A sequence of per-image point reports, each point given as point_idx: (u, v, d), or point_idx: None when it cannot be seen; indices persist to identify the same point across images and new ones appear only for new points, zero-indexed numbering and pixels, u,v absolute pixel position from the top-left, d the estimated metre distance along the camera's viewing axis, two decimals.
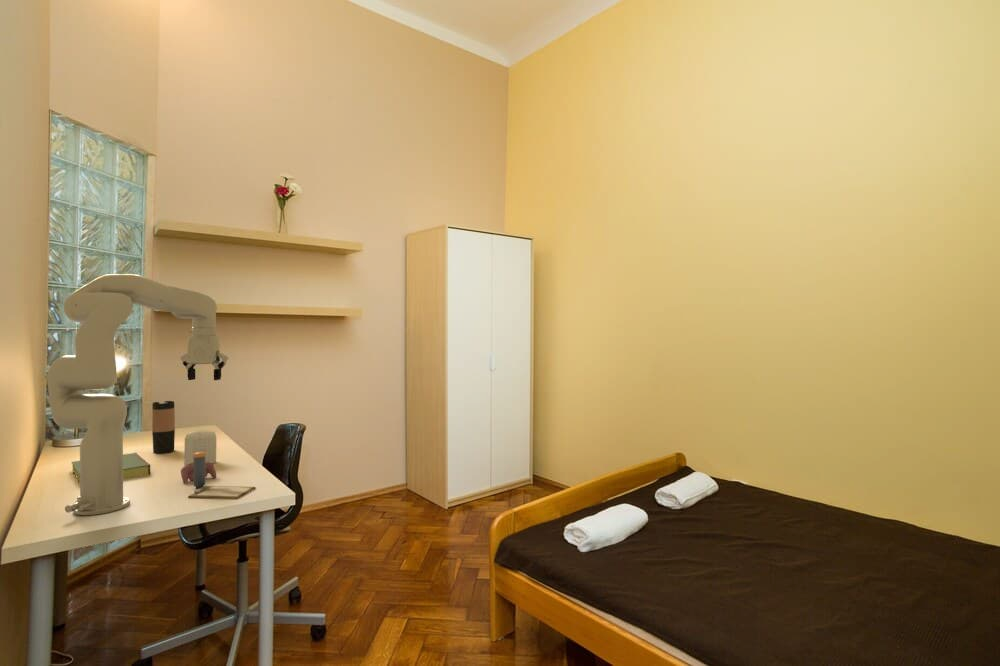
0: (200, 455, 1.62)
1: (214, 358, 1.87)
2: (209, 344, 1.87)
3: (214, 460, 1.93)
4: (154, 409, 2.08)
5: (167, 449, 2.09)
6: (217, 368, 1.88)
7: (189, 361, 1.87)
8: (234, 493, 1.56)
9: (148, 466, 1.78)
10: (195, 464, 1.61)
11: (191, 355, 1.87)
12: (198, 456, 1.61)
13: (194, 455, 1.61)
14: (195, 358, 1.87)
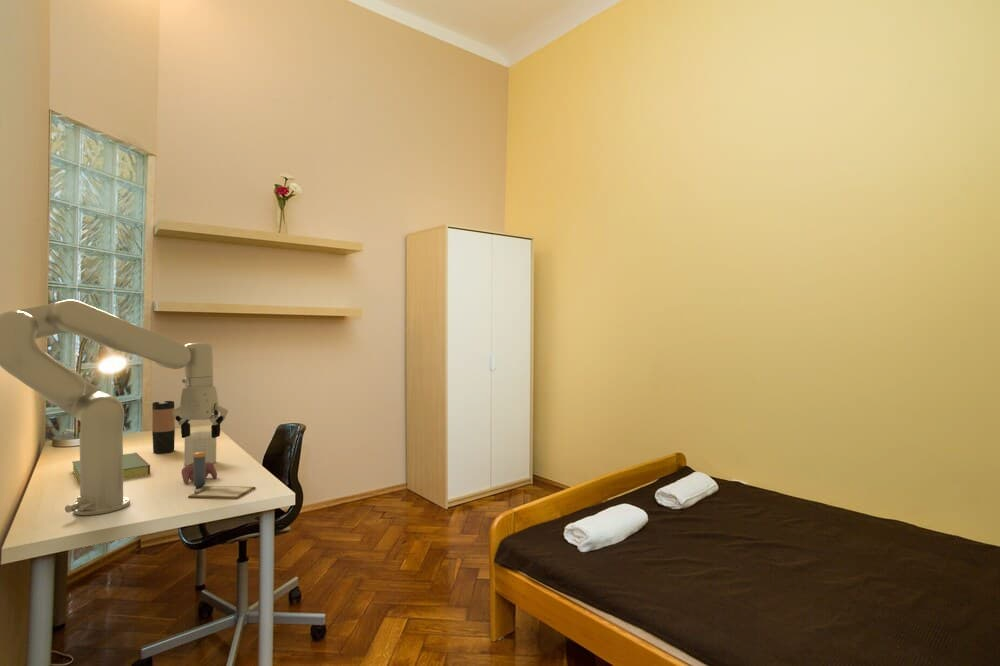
0: (200, 455, 1.62)
1: (211, 412, 1.61)
2: (205, 396, 1.60)
3: (214, 460, 1.93)
4: (154, 409, 2.08)
5: (167, 449, 2.09)
6: (215, 424, 1.62)
7: (182, 416, 1.61)
8: (234, 493, 1.56)
9: (148, 466, 1.78)
10: (195, 464, 1.61)
11: (185, 409, 1.60)
12: (198, 456, 1.61)
13: (194, 455, 1.61)
14: (189, 413, 1.60)
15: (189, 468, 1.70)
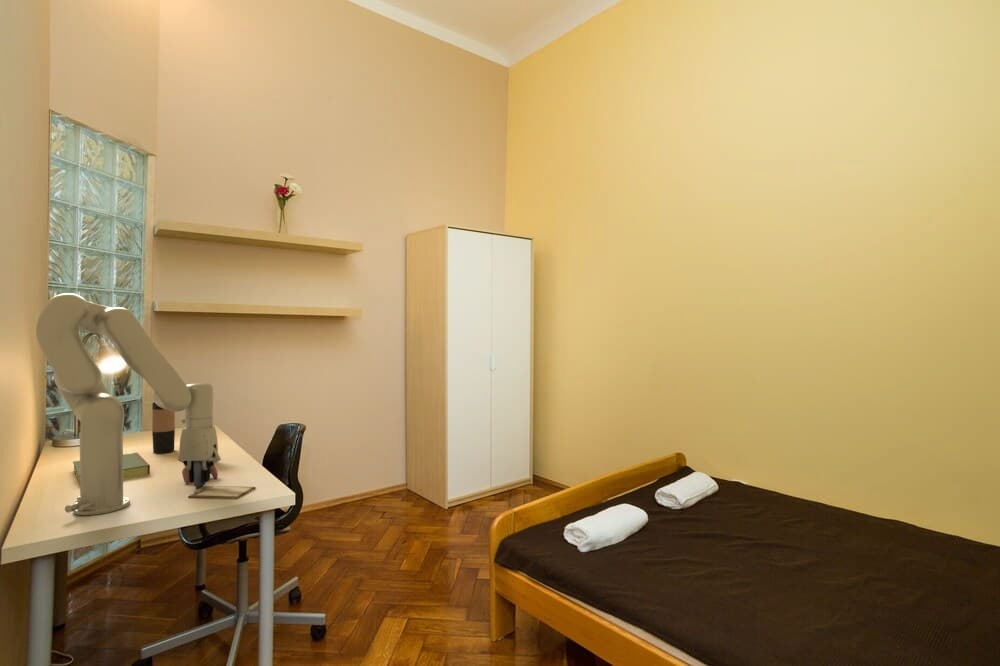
0: None
1: (211, 454, 1.61)
2: (204, 438, 1.60)
3: None
4: (154, 409, 2.08)
5: (167, 449, 2.09)
6: (205, 469, 1.62)
7: (182, 457, 1.60)
8: (234, 493, 1.56)
9: (147, 466, 1.78)
10: (195, 464, 1.61)
11: (184, 450, 1.60)
12: None
13: None
14: (189, 454, 1.60)
15: None
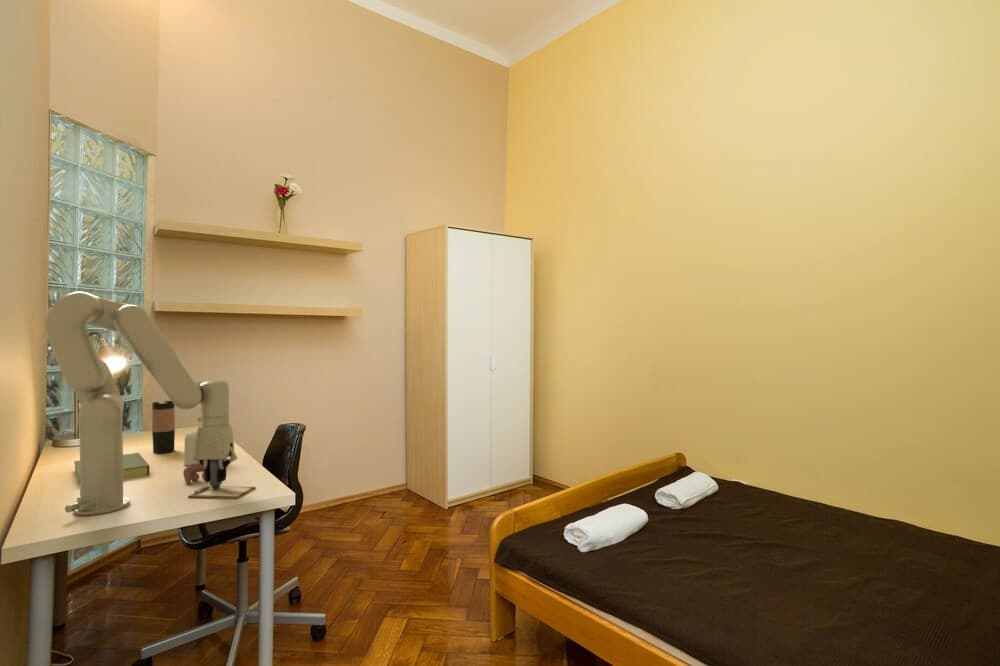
0: None
1: (227, 452, 1.58)
2: (221, 436, 1.58)
3: None
4: (154, 409, 2.08)
5: (167, 449, 2.09)
6: (221, 468, 1.59)
7: (198, 456, 1.58)
8: (234, 493, 1.56)
9: (147, 467, 1.78)
10: (211, 463, 1.59)
11: (200, 449, 1.58)
12: None
13: None
14: (205, 453, 1.58)
15: (191, 469, 1.69)
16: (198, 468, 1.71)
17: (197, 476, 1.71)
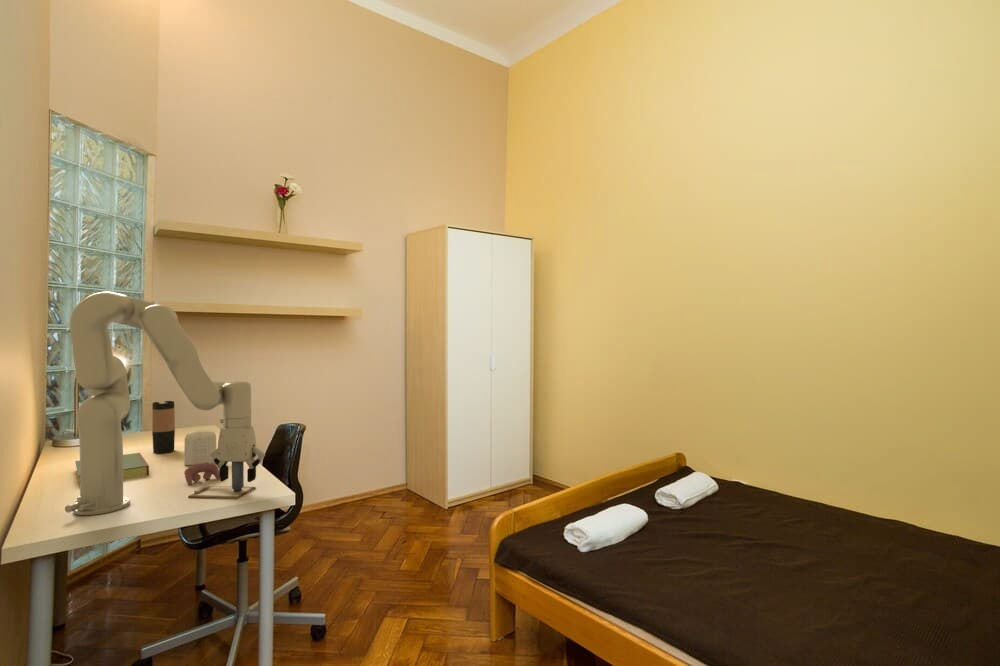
0: None
1: (250, 454, 1.56)
2: (243, 438, 1.56)
3: None
4: (154, 409, 2.08)
5: (167, 449, 2.09)
6: (251, 467, 1.57)
7: (220, 458, 1.56)
8: (234, 493, 1.56)
9: (146, 467, 1.77)
10: (233, 466, 1.57)
11: (222, 451, 1.56)
12: None
13: None
14: (227, 455, 1.56)
15: (192, 469, 1.69)
16: (199, 468, 1.70)
17: (198, 476, 1.70)
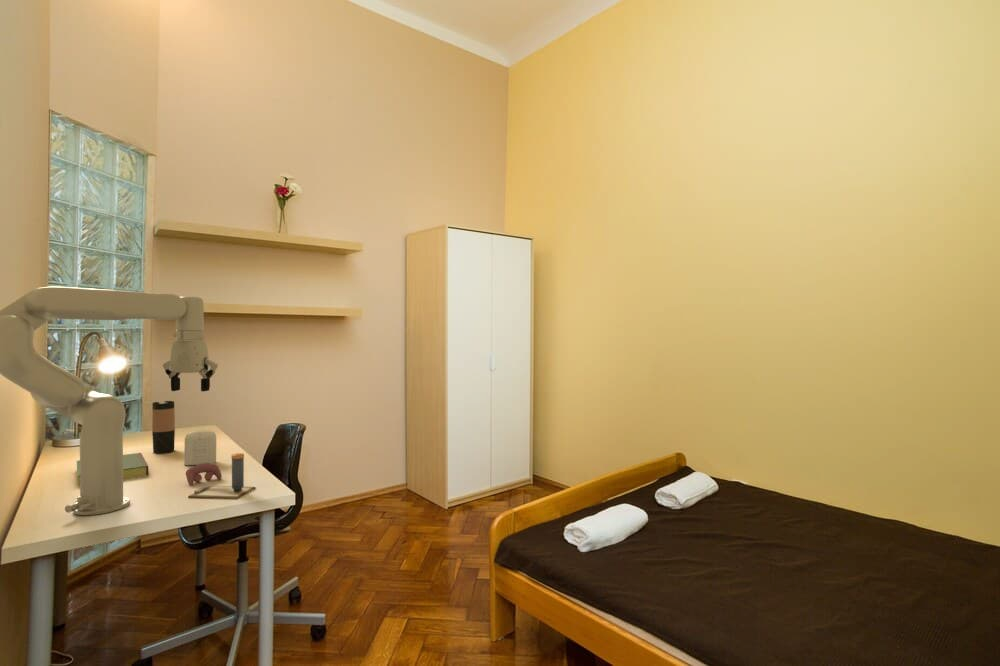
0: (239, 456, 1.57)
1: (201, 366, 1.62)
2: (195, 349, 1.61)
3: (214, 460, 1.93)
4: (154, 409, 2.08)
5: (167, 449, 2.09)
6: (205, 377, 1.62)
7: (172, 369, 1.61)
8: (234, 493, 1.56)
9: (146, 467, 1.77)
10: (234, 466, 1.57)
11: (175, 362, 1.61)
12: (237, 457, 1.57)
13: (233, 456, 1.57)
14: (179, 366, 1.61)
15: (194, 470, 1.68)
16: (201, 469, 1.70)
17: (200, 477, 1.70)
